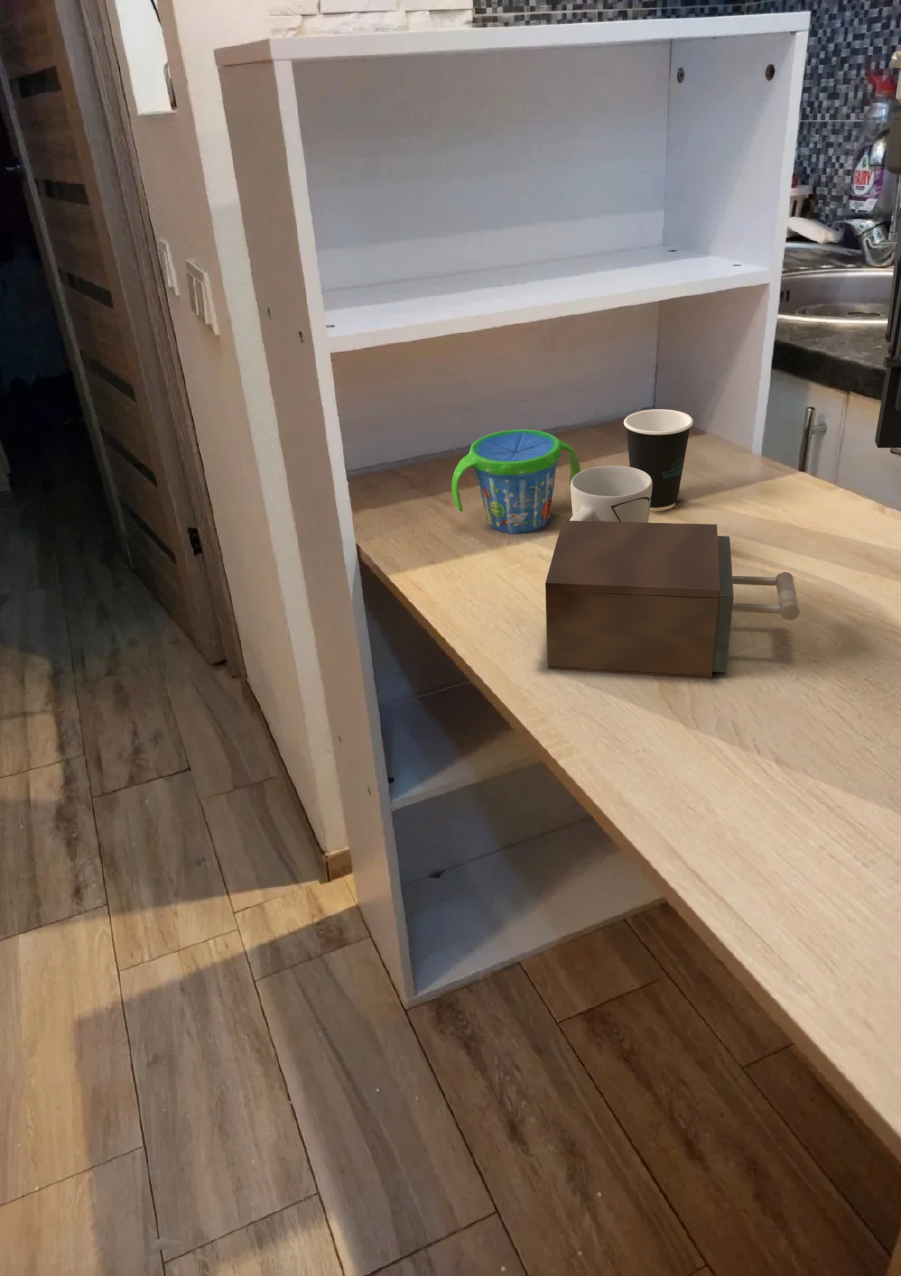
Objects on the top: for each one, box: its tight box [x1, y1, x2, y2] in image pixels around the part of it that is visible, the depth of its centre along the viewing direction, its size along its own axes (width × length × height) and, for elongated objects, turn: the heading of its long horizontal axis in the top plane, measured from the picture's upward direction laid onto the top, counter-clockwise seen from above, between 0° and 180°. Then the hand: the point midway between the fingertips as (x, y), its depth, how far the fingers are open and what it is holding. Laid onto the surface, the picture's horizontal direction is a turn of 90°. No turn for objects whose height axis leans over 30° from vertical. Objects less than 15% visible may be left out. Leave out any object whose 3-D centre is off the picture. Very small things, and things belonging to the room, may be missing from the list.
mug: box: [568, 465, 652, 523], centre depth 99 cm, size 11×8×10 cm
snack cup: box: [451, 429, 582, 535], centre depth 110 cm, size 16×10×10 cm
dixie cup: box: [623, 408, 694, 512], centre depth 111 cm, size 8×8×11 cm
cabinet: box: [544, 520, 720, 680], centre depth 86 cm, size 15×13×10 cm
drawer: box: [712, 535, 800, 673], centre depth 85 cm, size 19×11×8 cm, turn 77°
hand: (894, 444), depth 74 cm, fingers closed
